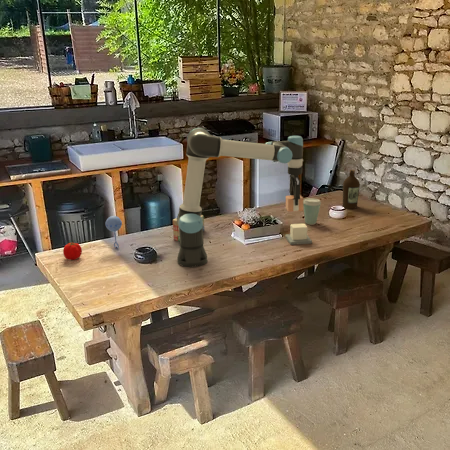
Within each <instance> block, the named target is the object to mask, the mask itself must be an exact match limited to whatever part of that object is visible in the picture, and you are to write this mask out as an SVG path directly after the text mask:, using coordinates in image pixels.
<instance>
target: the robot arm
mask: <svg viewBox="0 0 450 450" xmlns="http://www.w3.org/2000/svg"><path fill="white" fill-rule="evenodd" d="M186 142H187V145H186V153H185V155H186V156H187V157H188V160H187V161H188V163H187V168H186V178H185V186H184V191H183V201H182V203H181V204H180V205H179V209H178V213H177V216H176V218H177V223H178V227H179V234H180V241H179V247H180V248H179V251H178V253H177V259H176V260H177V261H176V262H177V264H178V265H180V266H181V267H186V268H196V267H201V266H203V265H205V264H206V263H208V254H207V252H206V249H205V245H204V231H203V221H202V218H201V215H202V211H203V210H202V209H203V207H201V206H200V205H201V195H202V189H203V183H204V175H205V169H206V162H207V160H208V159H210V158H219V157H221V156H222V157H232V158H242V159H243V158H244V159H253V160H254V159H255V160H264V161H273V162H279V163H281V164H287V174H288V175H289V190H288V191H289V196H291V195H294V198H293V212H300V211H299V199H300V195H301V180H300V177H299V176H301V175H302V174H303V162H304V159H303V152H304V139H303V137H302V136H301V135H289V136H288V137H287V140H282V141H278V140H276V141H272V140H271V141H268V142H265V143H258V142H257V143H256V142H250V141H239V140H230V139H224V138H222V137H221V136H215V135H212V134H210V132H209V131H208V130H206V129H205V128H201V127H195V128H193V129H192V130H190V131H189V132H188V135H187V136H186Z"/></svg>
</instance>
